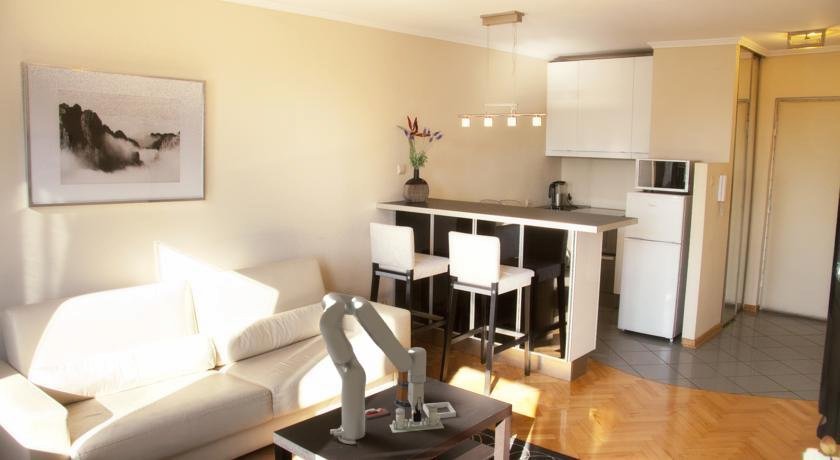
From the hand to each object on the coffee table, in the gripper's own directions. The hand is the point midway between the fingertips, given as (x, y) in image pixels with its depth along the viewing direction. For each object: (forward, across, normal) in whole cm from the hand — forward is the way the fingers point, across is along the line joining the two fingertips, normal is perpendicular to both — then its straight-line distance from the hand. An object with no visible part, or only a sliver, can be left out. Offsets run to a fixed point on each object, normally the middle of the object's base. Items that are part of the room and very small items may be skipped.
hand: (415, 419), depth 280 cm
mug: (+5, -32, +3) cm, 33 cm away
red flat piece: (+6, -16, -18) cm, 25 cm away
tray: (+5, -12, +13) cm, 19 cm away
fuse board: (+5, 0, 0) cm, 5 cm away
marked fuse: (+2, 0, 0) cm, 2 cm away
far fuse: (+3, 0, +7) cm, 8 cm away
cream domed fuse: (+3, 0, -7) cm, 7 cm away
